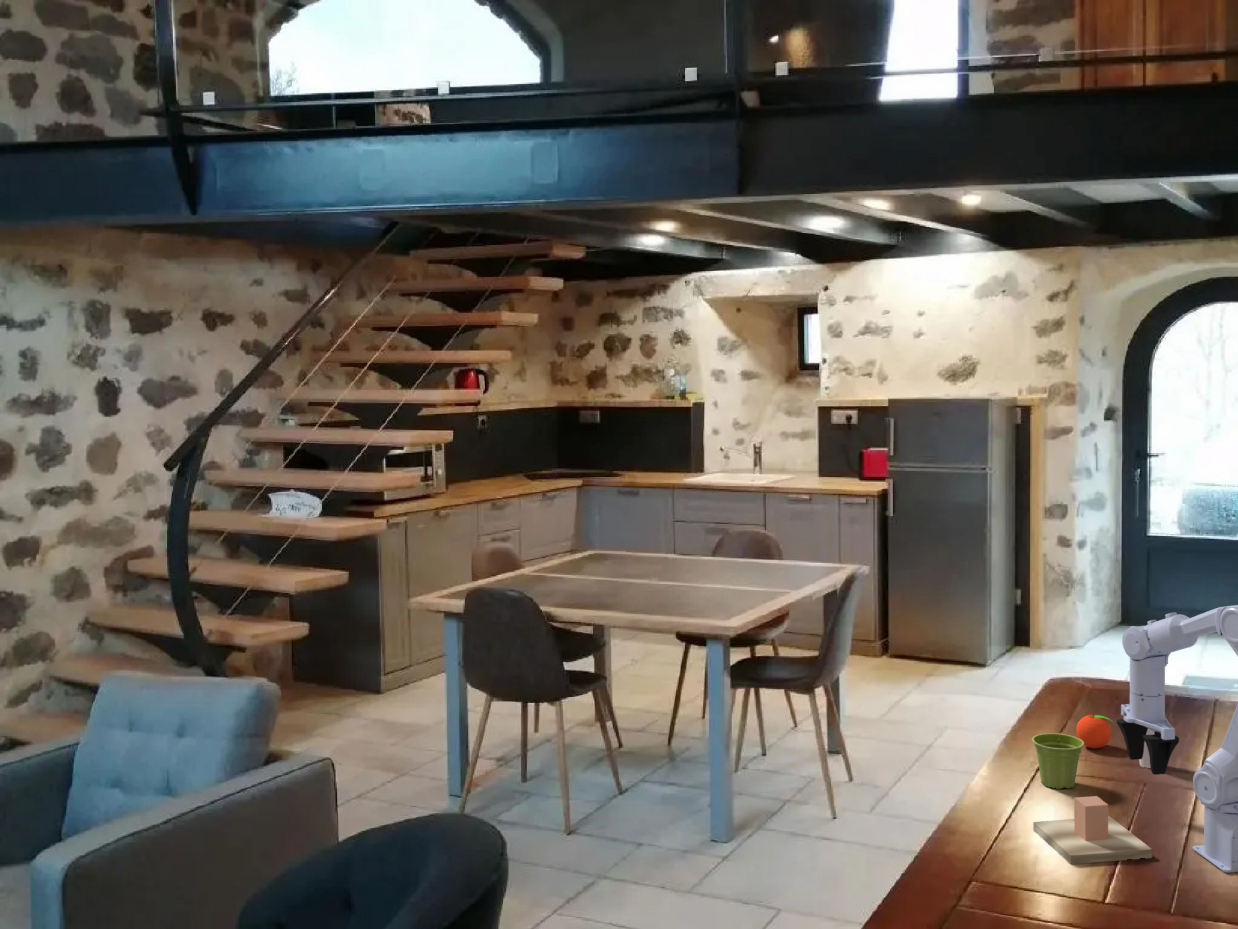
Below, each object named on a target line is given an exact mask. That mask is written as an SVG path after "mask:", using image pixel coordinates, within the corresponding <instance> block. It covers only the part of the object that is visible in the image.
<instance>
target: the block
mask: <svg viewBox="0 0 1238 929" xmlns="http://www.w3.org/2000/svg"><path fill="white" fill-rule="evenodd" d="M1073 799H1074V800H1073V805H1074V807H1073V810H1074V812H1073V813H1074V814H1073V816H1074V818H1073V819H1074V831H1075V832H1076V833H1077V834H1078V835H1079V836H1080V837H1082V838H1083V839H1084V840H1085V841H1089V840H1103V839H1108V816H1109V804H1108V803H1106V802H1105V801H1103V799H1102V798H1101V797H1099V796H1098V795H1094V796H1081V797H1079V796H1078V797H1077V796H1076V797H1074V798H1073Z"/></svg>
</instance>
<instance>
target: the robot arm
mask: <svg viewBox="0 0 1238 929" xmlns="http://www.w3.org/2000/svg"><path fill="white" fill-rule="evenodd" d="M1164 616H1165V618H1163V619H1160V620H1158V621H1157V619H1150V620H1149V621H1147V624H1146V625H1140V626H1134V625H1133V626H1129V628H1127V629H1125V630H1124V632H1123V634H1122V638H1121V639H1122V640H1121V641H1122V648H1123V650H1124V652H1125V654H1126V655H1127V656H1128V658H1129V703H1127V704H1126V703H1125V704H1121V705H1120V715H1121V716H1123V718H1118V719H1116V724H1117V727H1118V728H1119V730H1120V731H1121V734H1122V737H1123V739H1124V742H1125V747H1126V750H1127V753H1128V758H1129V760H1131V761H1132V760H1133V761H1134V760H1139V759H1142V757H1143V753H1144V743H1145V742H1146V745H1147V748H1148V751H1149V757H1150V767H1151V769H1150V770H1151V774H1153V775H1155V776H1156V775H1165V774H1166V771H1167V768H1168V765H1169V761H1170V758H1171V756H1172V753H1173V751H1174V750H1175V748H1176V746H1177V745H1178V744H1179V742H1180V738H1179V736H1177V735H1176V728H1174V726H1172V725H1171V724H1170V722H1169V721H1168V719H1167V717H1166V712H1165V711H1166V708H1165V707H1166V667H1167V665H1168V664H1169V657H1170V655H1171V653H1175V652H1177V651H1182V650H1184V649H1188V648H1191V647H1193V646H1194V645H1196V644H1197V642H1198V639H1199V637H1203V636H1205V635H1210V634H1214V633H1217V635H1218V636H1223V637H1224V639H1225V640H1226V642H1227V643H1228V644H1229V646H1230V647H1231V649H1232V651H1233V652H1234V653H1235V655H1236V656H1237V657H1238V604H1235V605H1227V606H1218V607H1217V608H1214V609H1211V610H1207V611H1206V612H1202V613H1200V614H1197V615H1195V616H1193V617H1189V616H1187V615H1185V614H1177V612H1170V613H1166V614H1165V615H1164ZM1148 728H1149V729H1150V730H1152V731H1154V735H1146V733H1147V730H1148ZM1224 736H1225V737H1224V738H1223V741H1222V745H1221V746H1220V748H1219V749H1217V750H1216V751H1214V753H1212V754H1211V755H1209V756H1208V757H1207V758H1206V759H1205V760H1204V763H1203V765H1202V766H1201V767H1200V768H1198V770H1195V772H1194V774H1193V777H1192V786H1193V790H1194V793H1195V795H1196V798H1198V800H1199V801H1200V804H1201V805H1203V806H1204V808H1203V812H1204V813H1203V844H1202V845H1201V844H1199V845H1198V844H1197V845H1192V850H1193V851H1194V852H1196V853H1197V854H1198V855H1200V856H1201V857H1203V858H1204V859H1206V860H1207V861H1208V862H1209V863H1211V864H1213V865H1214V866H1215V867H1217V868H1218V869H1219V870H1221V871H1222V872H1224V873H1226V874H1227V873H1238V703H1237V704H1236V707H1235V710H1234V712H1233V715H1232V716H1231V720H1230V723H1229V725H1228V728H1227V731H1226V734H1225V735H1224Z"/></svg>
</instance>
